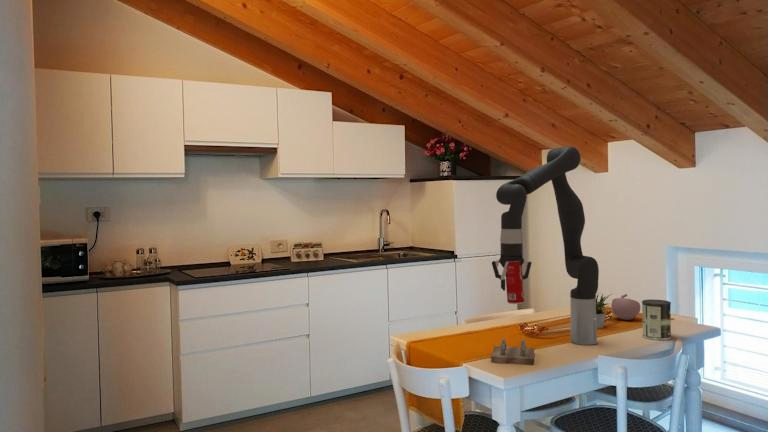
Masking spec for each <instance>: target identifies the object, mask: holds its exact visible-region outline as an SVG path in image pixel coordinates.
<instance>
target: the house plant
mask: <svg viewBox="0 0 768 432" xmlns="http://www.w3.org/2000/svg"><path fill="white" fill-rule="evenodd" d="M600 294H601V292H597V293H596V319H597V329H604V326H605V321H606V314H607V313H606V312H605V310H606V308H608V307H609V305H608V303H604V302H605V301H606V300H607V299H608V298H609V297H610V296H611V295H613V293H610V294H609V295H605V296H604V293H602V294H601V296H600V299H598V298H599V295H600ZM598 300H599V301H598Z"/></svg>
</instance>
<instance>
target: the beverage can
mask: <svg viewBox="0 0 768 432" xmlns="http://www.w3.org/2000/svg"><path fill="white" fill-rule="evenodd" d="M521 276H523V265H522V266H521V264H520V262H519V261H513V262H508V265H507V272H506V275H505V289H506V299H507V300H506V301H507V303H508V304H510V305H521V304H524V303H525V293H524V284H523V285H522V280H521Z"/></svg>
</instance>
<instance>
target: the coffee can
mask: <svg viewBox="0 0 768 432" xmlns="http://www.w3.org/2000/svg"><path fill="white" fill-rule="evenodd" d="M641 304H642V305H641V310H642V314H641V315H642V321H641V322H642V337H643V338H644V339H648V340H652V341H669V340H671V339H672V329H671V328H672V325H671V322H672V319H671V317H672V313H671V312H672V311H671V309H672V308H671V304H672V302H671V301H669V300H666V299H663V300H662V299H643V300H641Z"/></svg>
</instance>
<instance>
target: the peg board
mask: <svg viewBox="0 0 768 432" xmlns="http://www.w3.org/2000/svg"><path fill="white" fill-rule="evenodd" d="M526 342H527V340H526V339H521V340H520V345H519V346H520V347H519V346H518V347H517V346H515V347H513V346H507V339H506V338H502V339H501V343H499V346H496V345H495V346H494V347H493V350H492V352H491V355H490V358H491V359H490V363H491V362H497V363H496V364H509V363H514V365H530V366H534V365H535V364H534V363H535V347H526V346H527V345H526V344H527V343H526Z"/></svg>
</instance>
